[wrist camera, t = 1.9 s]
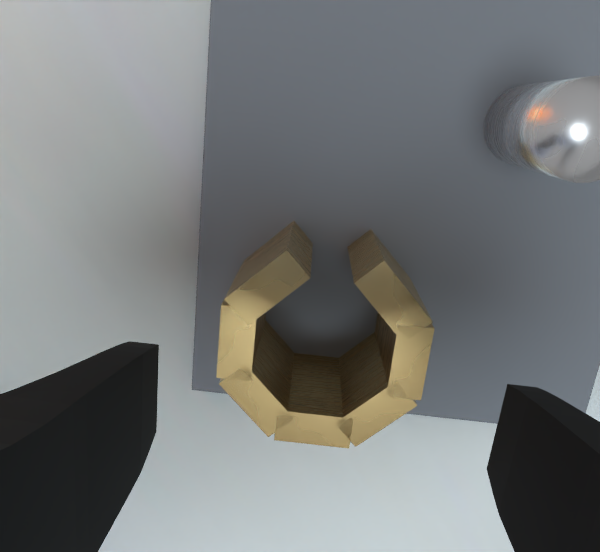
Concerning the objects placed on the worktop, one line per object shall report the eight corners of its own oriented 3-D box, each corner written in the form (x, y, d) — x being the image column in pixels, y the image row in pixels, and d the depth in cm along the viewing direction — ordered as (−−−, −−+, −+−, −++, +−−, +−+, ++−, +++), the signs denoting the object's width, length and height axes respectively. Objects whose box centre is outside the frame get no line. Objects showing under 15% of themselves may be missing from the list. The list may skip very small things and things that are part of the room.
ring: (393, 388, 18) (410, 455, 15) (233, 371, 18) (212, 433, 15) (420, 234, 16) (446, 267, 13) (245, 215, 16) (225, 242, 13)
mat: (574, 425, 19) (579, 432, 18) (194, 383, 19) (192, 389, 18) (718, -78, 14) (729, -83, 14) (220, -130, 14) (217, -136, 14)
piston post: (552, 168, 16) (627, 187, 12) (476, 160, 16) (526, 177, 12) (571, 88, 15) (656, 81, 11) (492, 80, 15) (550, 70, 11)
